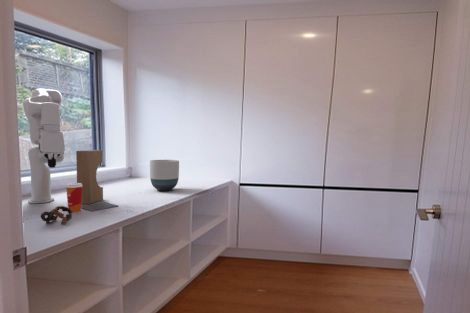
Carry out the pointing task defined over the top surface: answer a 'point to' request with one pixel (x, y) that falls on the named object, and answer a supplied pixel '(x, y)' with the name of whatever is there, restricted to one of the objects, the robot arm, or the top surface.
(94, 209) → the mat
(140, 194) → the top surface
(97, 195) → the decorative block
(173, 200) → the top surface
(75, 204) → the paper cup
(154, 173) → the planter
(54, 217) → the brown looped knot sculpture
